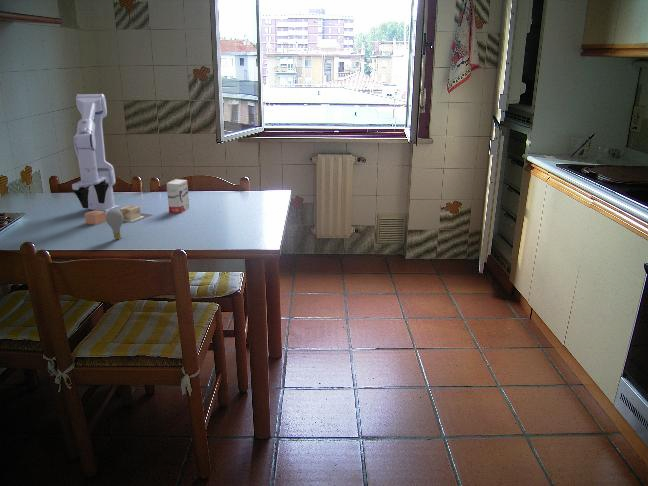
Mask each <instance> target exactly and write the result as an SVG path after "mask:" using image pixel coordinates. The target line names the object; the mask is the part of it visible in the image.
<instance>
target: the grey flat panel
mask: <svg viewBox="0 0 648 486" xmlns="http://www.w3.org/2000/svg"><path fill="white" fill-rule="evenodd" d="M140 214H141V217H140V218H137V219H134V220H123V223H128V224H133V223H136V222H139V221H141V220H144V219H147V218H149V217H152V216H153V214H149V213H144V212H143V213H142V212H140Z"/></svg>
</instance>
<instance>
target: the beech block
mask: <svg viewBox="0 0 648 486" xmlns="http://www.w3.org/2000/svg"><path fill="white" fill-rule="evenodd" d="M140 207H141V206H137V205H136V206H135V205H126V206H124V207H121V208H120V207H119V211H120V212H121V213H122V214H123V217H124V220H134V219H137V218H140V217H141V214H140V213H141V208H140Z"/></svg>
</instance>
